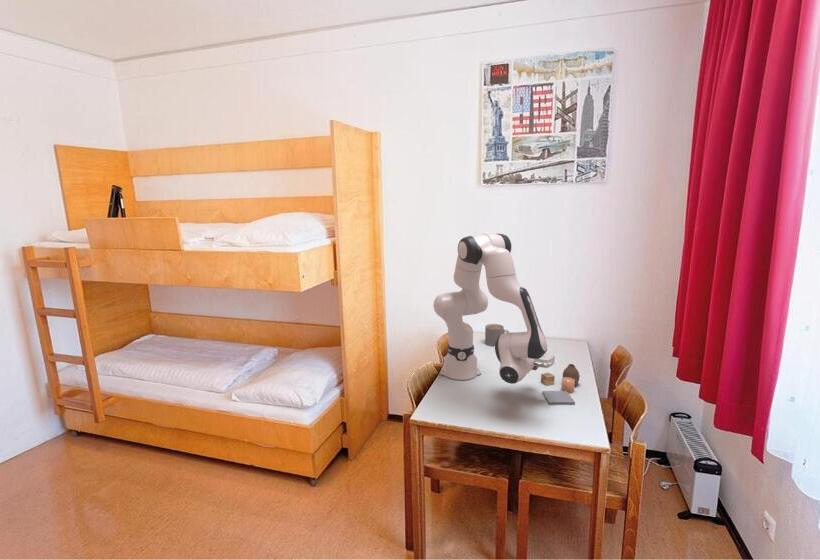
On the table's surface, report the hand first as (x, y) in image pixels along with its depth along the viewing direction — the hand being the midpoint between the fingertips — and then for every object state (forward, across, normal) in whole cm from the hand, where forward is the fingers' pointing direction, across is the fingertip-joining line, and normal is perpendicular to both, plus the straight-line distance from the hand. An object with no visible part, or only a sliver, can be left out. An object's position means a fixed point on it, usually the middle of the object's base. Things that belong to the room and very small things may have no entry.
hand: (533, 350), depth 179 cm
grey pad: (-4, -12, +17) cm, 21 cm away
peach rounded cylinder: (+6, -13, +17) cm, 22 cm away
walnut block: (-1, 0, +7) cm, 7 cm away
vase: (+13, -13, +17) cm, 25 cm away
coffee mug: (+47, +34, +17) cm, 60 cm away
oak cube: (+9, -4, +17) cm, 20 cm away
